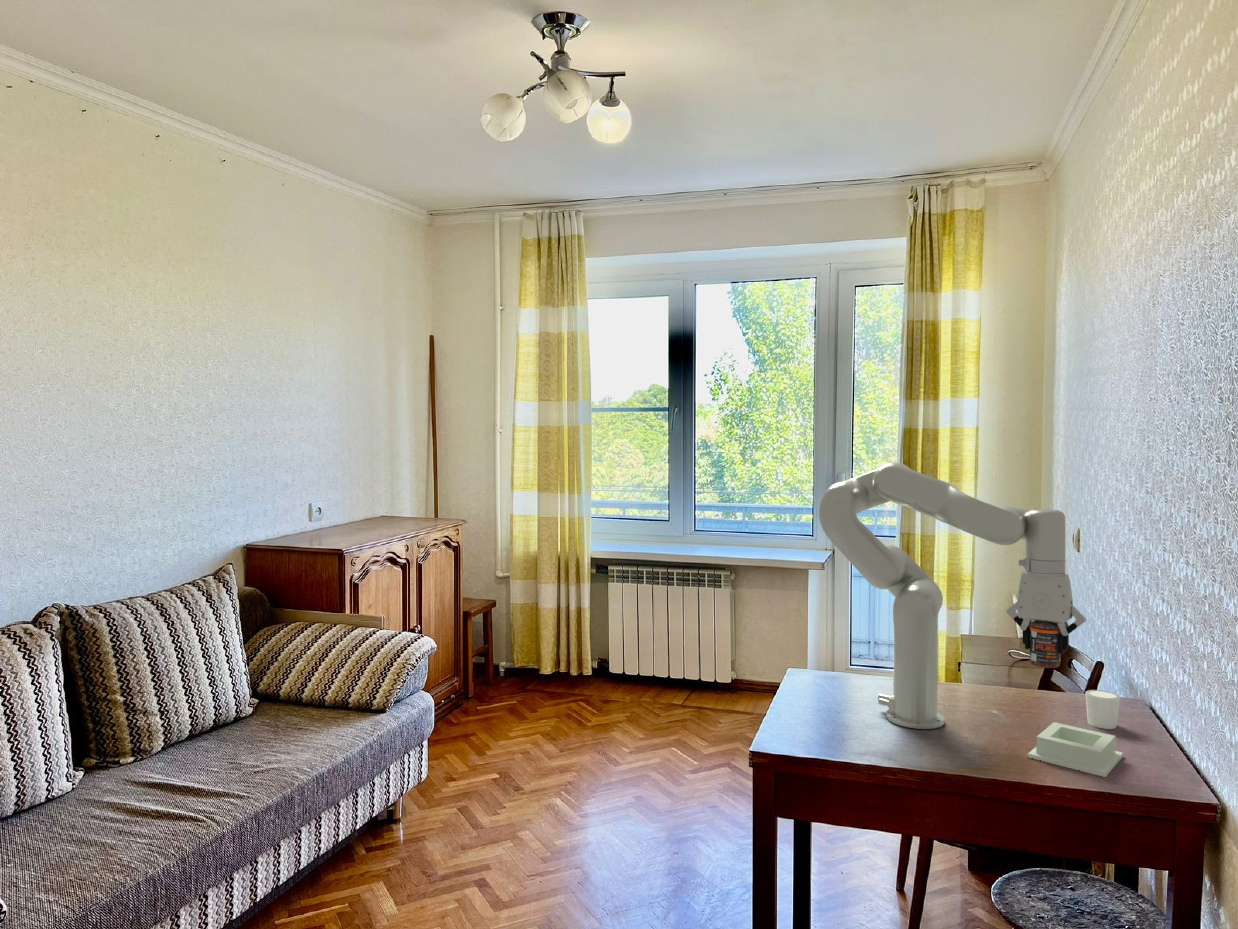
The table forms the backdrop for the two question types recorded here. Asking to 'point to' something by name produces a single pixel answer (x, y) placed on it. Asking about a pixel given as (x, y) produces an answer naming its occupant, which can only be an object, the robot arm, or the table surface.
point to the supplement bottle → (1044, 644)
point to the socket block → (1077, 749)
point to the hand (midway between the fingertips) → (1045, 649)
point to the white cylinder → (1102, 708)
